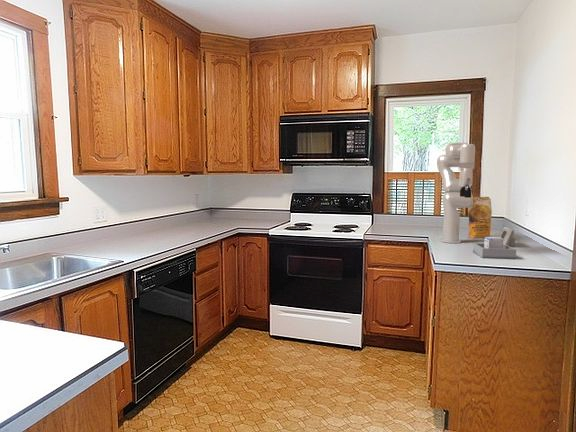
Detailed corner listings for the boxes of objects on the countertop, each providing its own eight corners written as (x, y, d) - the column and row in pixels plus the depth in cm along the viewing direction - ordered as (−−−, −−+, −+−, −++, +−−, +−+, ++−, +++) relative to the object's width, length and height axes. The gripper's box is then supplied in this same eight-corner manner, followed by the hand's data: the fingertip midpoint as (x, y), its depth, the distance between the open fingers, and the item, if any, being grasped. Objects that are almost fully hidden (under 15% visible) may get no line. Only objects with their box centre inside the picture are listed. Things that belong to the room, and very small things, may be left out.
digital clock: (497, 242, 246) (498, 226, 245) (513, 243, 241) (515, 226, 240) (497, 246, 232) (498, 229, 230) (514, 248, 227) (516, 230, 226)
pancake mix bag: (462, 236, 267) (464, 196, 264) (488, 236, 270) (490, 196, 267) (468, 238, 261) (470, 197, 258) (494, 237, 263) (496, 196, 260)
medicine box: (497, 252, 209) (498, 236, 208) (502, 254, 204) (503, 238, 203) (483, 252, 208) (484, 236, 207) (488, 254, 204) (489, 238, 203)
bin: (472, 252, 215) (473, 243, 215) (503, 252, 213) (504, 244, 212) (482, 258, 200) (482, 248, 199) (515, 259, 197) (516, 249, 197)
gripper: (455, 166, 225) (454, 196, 227) (464, 166, 208) (462, 197, 210) (469, 166, 224) (467, 196, 226) (478, 166, 207) (477, 198, 209)
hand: (465, 197), depth 218 cm, fingers open, 9 cm apart
